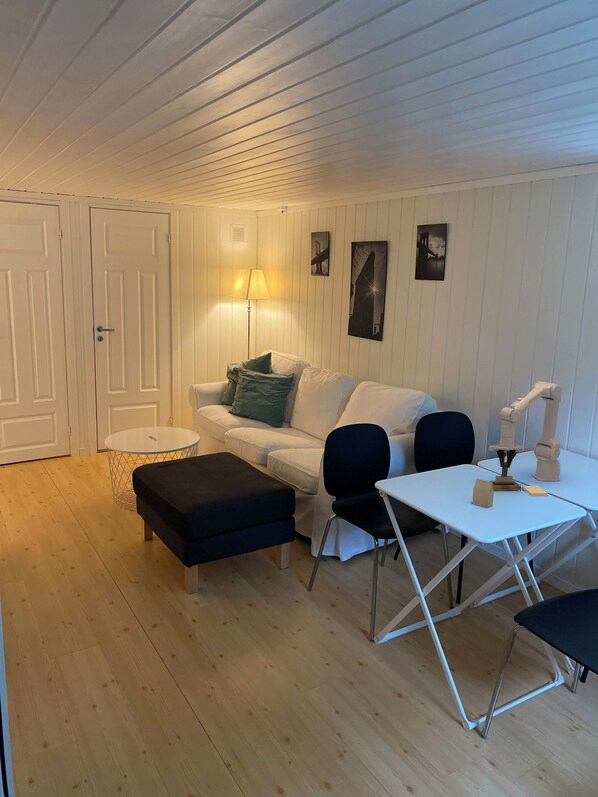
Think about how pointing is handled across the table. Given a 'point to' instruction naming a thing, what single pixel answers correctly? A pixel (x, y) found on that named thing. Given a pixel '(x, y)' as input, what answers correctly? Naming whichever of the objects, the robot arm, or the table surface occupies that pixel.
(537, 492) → the tile
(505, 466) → the turner
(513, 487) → the frame
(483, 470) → the table surface
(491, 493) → the tea bag
